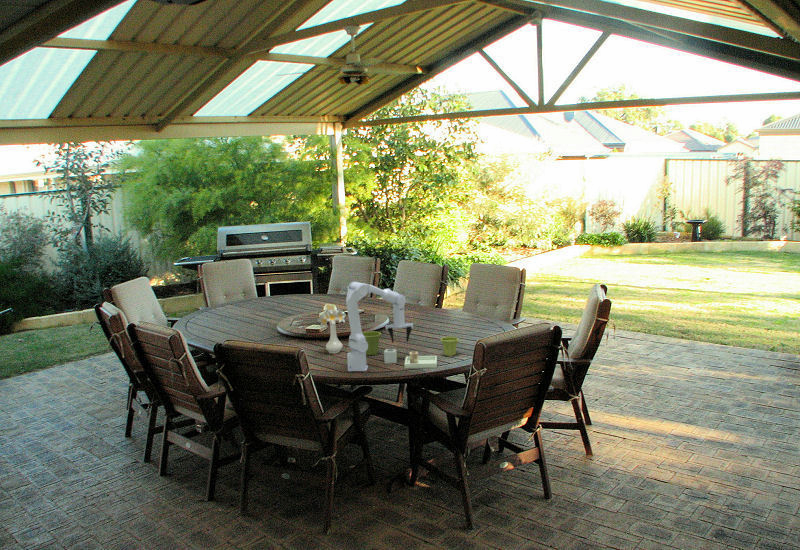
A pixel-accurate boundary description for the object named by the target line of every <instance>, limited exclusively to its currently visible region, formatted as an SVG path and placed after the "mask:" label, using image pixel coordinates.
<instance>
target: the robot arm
mask: <svg viewBox="0 0 800 550" xmlns="http://www.w3.org/2000/svg"><path fill="white" fill-rule="evenodd" d="M346 289H347V294H346V298H345V304H346V305H345V306H346V311H347V316H348V322H349V323H348V324H349V328H350V335H349V337H348V347H349V348H350V351H349V352H347V353H346V354H347V355H346V356H347V361H346V363H347V372H366V371H368V369H369V365H368V364H367V355H366V351H367V349H368V343H367V342H366V339H365V336H364V335H363V334H362V333H363V330H362V323H361V318H360V312H359V311H360V310H359V306H358V305H359V304H358V303H359V302H360V300H362V299H363V298H364V297H366V296H367V295H368V294H370V293H372V294H375V295H377V296H380V297H381V300H384V301H385V302H388V303H391V304H392V309H393V310H392V312H393V324H385V330H387V331H388V333H389V336H390V339H391V342H392V343H394V341H395V340H394V330H396V329H406V330H405V331H406V337H405V338H406V342H407V343H408V342H409V338H410V334H411V332H412V330H413V328H414V323H406V321H405V304H406V303H407V299H406V296H405V295H404V294H402V293H398V291H393V290H392V289H391V288H389V287H388V288H384V289H382V288H379V287H377V286H374V285H373V284H369V283H364V282H363V283H362V282H358V281H351V282H350V283H349V285H348V286H347V288H346ZM393 329H394V330H393ZM392 343H391V344H392Z"/></svg>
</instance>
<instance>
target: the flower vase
mask: <svg viewBox="0 0 800 550" xmlns="http://www.w3.org/2000/svg"><path fill="white" fill-rule="evenodd" d="M346 315H347V314H346V312H345V313H343V309H342V308H339V307H338V306H337V310H334V307H332V308H330V309H329V308H328V307H327V308H325V312H323V314H322V315H320V316H319V318H317V319H316V321H317V322H318V323H320V325H319V326H320V328H323V327H326V328H328V327H329V328H330V331H329V332H330V334H329V335H330V337H329V341H328V342H327V343H326V344H325V349H326V351H327V352H328V353H329V354H331V353H332V354H333V355H335V354H339V353H341V350H342V349H343V346H344V345H343V343H342V342H341V341H340V340H339V338H338V335H337V329H336V323H337V320H338V322H339V323H341V322H343V323H346V320H345V317H346ZM328 322H329V326H328Z"/></svg>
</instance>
